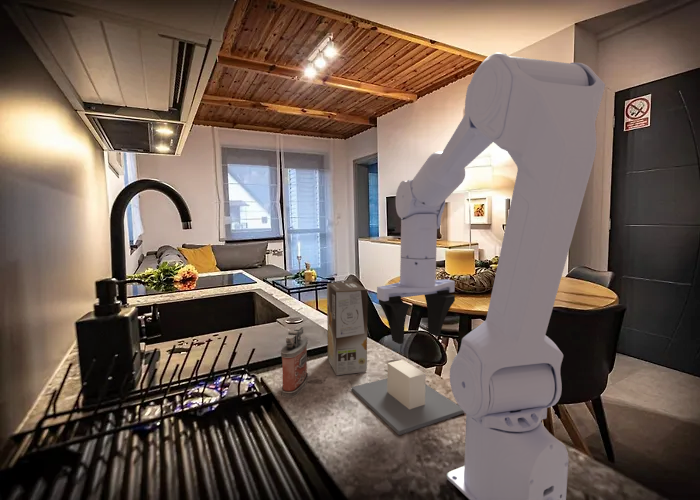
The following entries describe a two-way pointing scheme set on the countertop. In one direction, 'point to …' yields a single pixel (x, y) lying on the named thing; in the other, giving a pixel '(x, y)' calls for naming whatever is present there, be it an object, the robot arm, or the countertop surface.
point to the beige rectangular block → (406, 384)
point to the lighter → (294, 363)
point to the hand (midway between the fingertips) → (416, 338)
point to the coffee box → (347, 327)
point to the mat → (399, 414)
